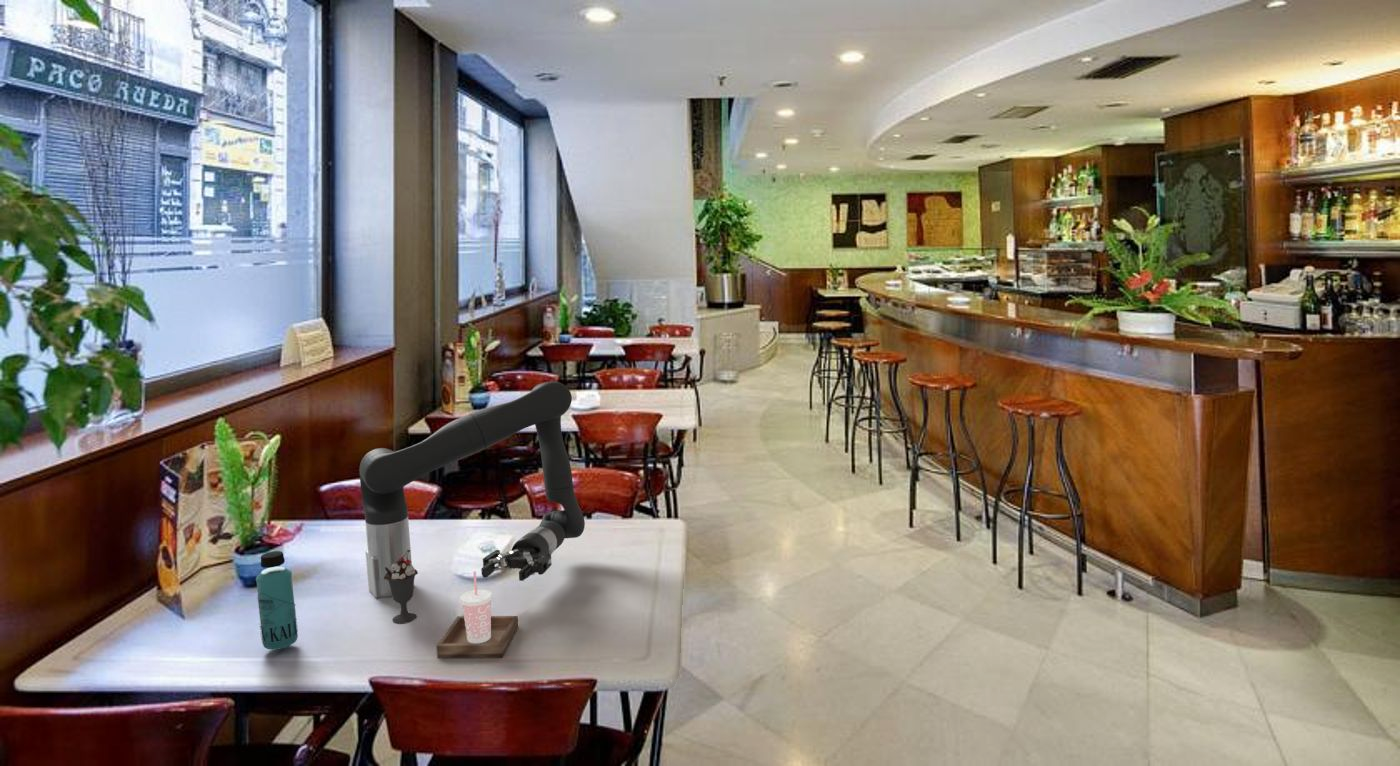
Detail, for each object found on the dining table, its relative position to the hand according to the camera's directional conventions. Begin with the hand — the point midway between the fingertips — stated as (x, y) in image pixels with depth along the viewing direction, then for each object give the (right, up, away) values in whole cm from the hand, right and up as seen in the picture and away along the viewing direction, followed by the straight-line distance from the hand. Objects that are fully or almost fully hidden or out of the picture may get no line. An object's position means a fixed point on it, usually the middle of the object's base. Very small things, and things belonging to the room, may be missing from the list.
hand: (502, 574), depth 168 cm
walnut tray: (-2, -11, -9) cm, 15 cm away
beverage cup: (-2, -11, -9) cm, 14 cm away
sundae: (-21, -10, +2) cm, 24 cm away
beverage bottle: (-41, -13, -10) cm, 44 cm away
